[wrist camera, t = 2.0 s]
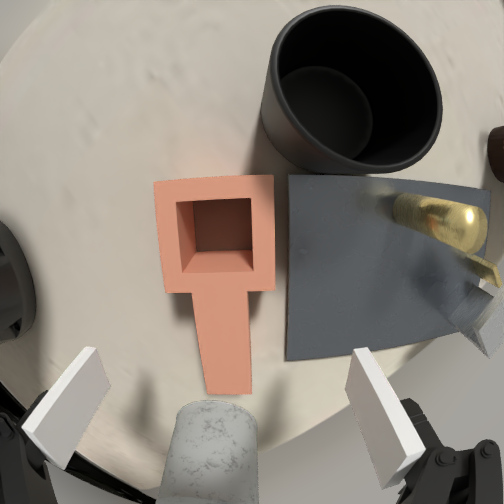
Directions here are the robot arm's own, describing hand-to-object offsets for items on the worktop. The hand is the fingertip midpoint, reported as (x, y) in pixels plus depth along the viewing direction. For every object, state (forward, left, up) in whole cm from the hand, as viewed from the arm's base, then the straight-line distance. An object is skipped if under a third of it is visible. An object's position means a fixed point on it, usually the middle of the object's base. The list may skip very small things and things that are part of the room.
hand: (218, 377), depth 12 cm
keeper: (+24, -1, -10) cm, 25 cm away
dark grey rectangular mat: (+16, +1, -11) cm, 19 cm away
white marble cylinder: (-3, -18, -11) cm, 21 cm away
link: (0, +1, -10) cm, 11 cm away
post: (+15, +7, -11) cm, 19 cm away
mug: (+9, +15, -11) cm, 20 cm away
